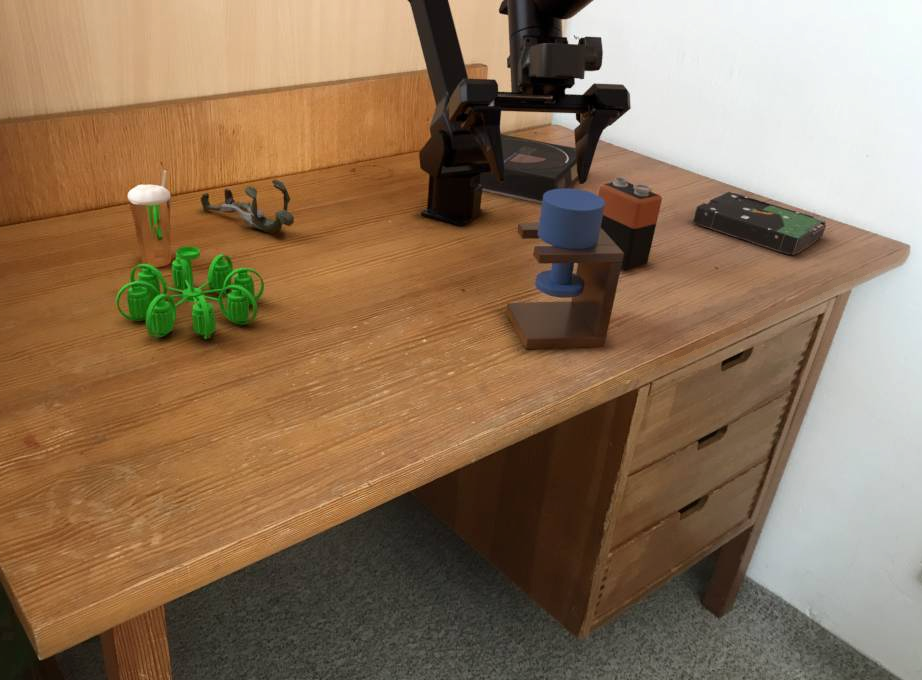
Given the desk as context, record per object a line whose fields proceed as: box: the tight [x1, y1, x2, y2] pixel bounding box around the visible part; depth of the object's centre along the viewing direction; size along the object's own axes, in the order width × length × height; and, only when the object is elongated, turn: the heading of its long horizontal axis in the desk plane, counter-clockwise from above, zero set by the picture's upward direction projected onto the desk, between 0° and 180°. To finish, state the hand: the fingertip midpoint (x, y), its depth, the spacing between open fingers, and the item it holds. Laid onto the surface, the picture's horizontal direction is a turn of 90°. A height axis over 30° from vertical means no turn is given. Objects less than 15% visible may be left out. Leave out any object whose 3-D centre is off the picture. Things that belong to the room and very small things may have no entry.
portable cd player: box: [480, 133, 578, 204], centre depth 128 cm, size 16×17×4 cm
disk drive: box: [693, 191, 827, 256], centre depth 115 cm, size 10×3×15 cm
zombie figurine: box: [200, 179, 295, 235], centre depth 105 cm, size 5×7×15 cm
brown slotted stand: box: [505, 222, 624, 350], centre depth 85 cm, size 8×8×10 cm
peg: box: [534, 188, 605, 299], centre depth 83 cm, size 6×6×10 cm
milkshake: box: [127, 170, 172, 269], centre depth 94 cm, size 4×5×10 cm
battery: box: [597, 176, 663, 271], centre depth 102 cm, size 4×7×10 cm, turn 35°
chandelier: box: [115, 246, 265, 340], centre depth 84 cm, size 15×15×7 cm
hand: (542, 182), depth 88 cm, fingers open, 9 cm apart
